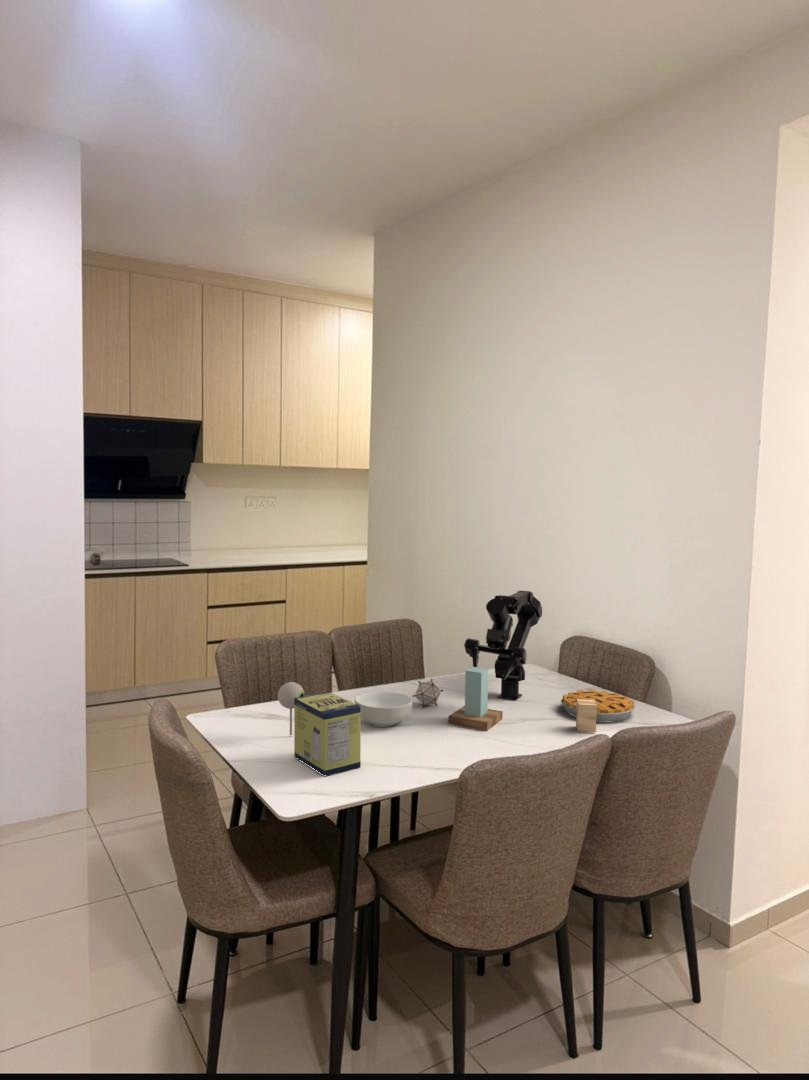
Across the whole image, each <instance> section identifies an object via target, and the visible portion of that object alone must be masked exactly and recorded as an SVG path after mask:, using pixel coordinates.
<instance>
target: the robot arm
mask: <svg viewBox="0 0 809 1080" xmlns="http://www.w3.org/2000/svg"><path fill="white" fill-rule="evenodd" d="M485 608H486V611H487V613H488V615H489V618H490V620H491V621H492V622H493V623H492V626H491V628H487V631H486V635H485V643H486V645H483V644H481V643H480V641H479V640H478V639H474V638H466V640H465V641H464V645H463V646H464V650H465V653H466V654H467V655H468V656H469V657H470V658H472V667H478V665H479V664H478V663H479V659H480V655H479V654H480V652H483V653H489V654H495V655H497V659H495V661H494V673H495V679H501V680H500V693H499V694H498V695H497V696H496V697H497V698H498V699H499V698H500V699H506V700H510V701H518V699H520V698H521V697H522V696H523V693H520V692H519V691H520V682H522V681H525V680H526V671H525V667H524V665H526V663H527V660H528V658H527V657H528V656H527V655H528V654H527V650H526V648H524V647H525V644H526V642H527V639H528V636H529V633H530V631H531V628H532V627H534V626H535V625H537V624H538V623H539V621H540V619H541V618H542V616H543V608H542V603H541V601H539V599H537V598H536V597H535V596H534V593H533V592H532V591H530V590H529V591H528V590H517V591H516V592H515V593H513V594H511V595H505V594H504V595H503V594H500V595H499V594H498V595H494V598H492V599H489V601H487V603H486V606H485ZM511 615H515V616H516V618H517V623H516V626H515V628H514V631H513V634H512V636H511V633H512V627H513V626H514V623H513V622H514V619H513V617H512V616H511ZM508 643H509V644H508ZM507 646H508V647H507Z"/></svg>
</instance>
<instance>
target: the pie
mask: <svg viewBox="0 0 809 1080" xmlns="http://www.w3.org/2000/svg"><path fill="white" fill-rule="evenodd" d="M577 699H581V700H595V702H596V705H597V714H596V721H616V722H619V721H618V720H622V721H624V720H626V719H628V717H629V718H630V716H631V714H632V712H633V711H635V709H636V707H637V706H636V704H635V702H634V700H631V699H630V698H629V697H628V696H625V695H623V696H622V695H620V694H619V693H611V692H610V693H609V692H608V691H605V690H601V691H598V690H595V689H589V690H586V691H584V690H582V689H581V690H577V691H576V692H574V691H573V692H572V691H571V692H568V693H567V694H563V695H562V698H561V700H560V703H561V704H562V706H563V708H564V711H565V710H566V711H567V712H568V713H570V714H572V715H574V716H576V712H577ZM566 711H565V712H566ZM567 712H566V713H567ZM568 713H567V714H568ZM570 714H569V715H570ZM572 715H571V716H572ZM574 716H573V717H574ZM625 718H626V719H625ZM623 719H624V720H623Z"/></svg>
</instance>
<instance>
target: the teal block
mask: <svg viewBox="0 0 809 1080" xmlns="http://www.w3.org/2000/svg"><path fill="white" fill-rule="evenodd" d="M464 673H465V677H464V678H465V681H464V706H465V715H471V716H476V717H482V716H483V715H485V714H486V713H487V709H488V698H489V696H488V694H489V692H488V690H489V668H483V667H478V666H477V667H473V666H471V667H469V668H468V669H466V670H465V672H464Z"/></svg>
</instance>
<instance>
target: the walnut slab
mask: <svg viewBox="0 0 809 1080" xmlns="http://www.w3.org/2000/svg"><path fill="white" fill-rule="evenodd" d="M503 713H504V712H503V710H497V709H492V708H487V713H486V714H485V715H483V716H482V717H476V716H471V715H465V705H463V706H461V707H460V708H459V709H457V710H455V711H453V712H452V713H451V714H449V715H448V717H447V718H448V722H447V723H448V725H450V724H451V725H452V726H456V725H457V727H461V726H462V727H461V728H467V729H472V728H473V730H479V731H484V732H488V731H490V730H491V729H492V728H493V727H494V726H495V725H497V724H498V723H500V722H501V721H502V720H503Z"/></svg>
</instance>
